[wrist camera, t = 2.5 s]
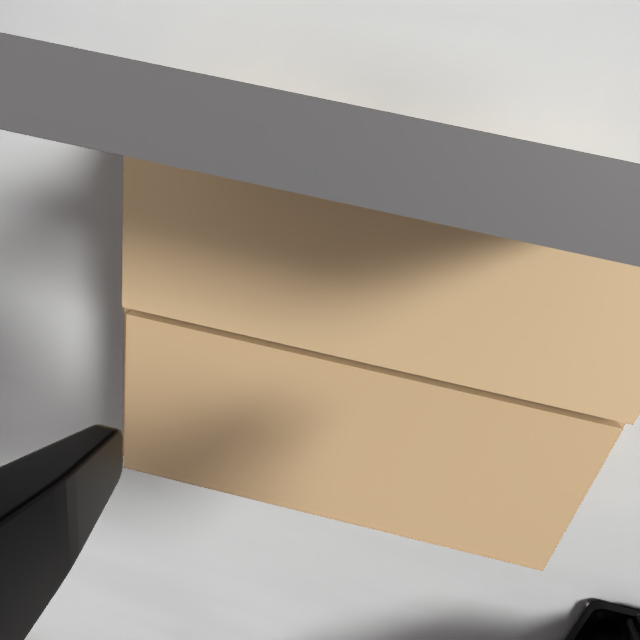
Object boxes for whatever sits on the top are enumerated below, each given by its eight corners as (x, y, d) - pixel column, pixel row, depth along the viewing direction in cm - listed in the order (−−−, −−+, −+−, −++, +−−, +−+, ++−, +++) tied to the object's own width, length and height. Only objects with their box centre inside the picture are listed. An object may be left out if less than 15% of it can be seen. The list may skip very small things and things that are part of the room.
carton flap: (624, 413, 16) (958, 830, 6) (130, 300, 16) (-192, 530, 7) (749, 190, 13) (1713, 384, 3) (135, 63, 13) (-414, -53, 4)
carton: (522, 488, 23) (552, 573, 18) (163, 402, 23) (114, 465, 19) (663, 197, 17) (755, 224, 13) (180, 97, 18) (115, 91, 13)
